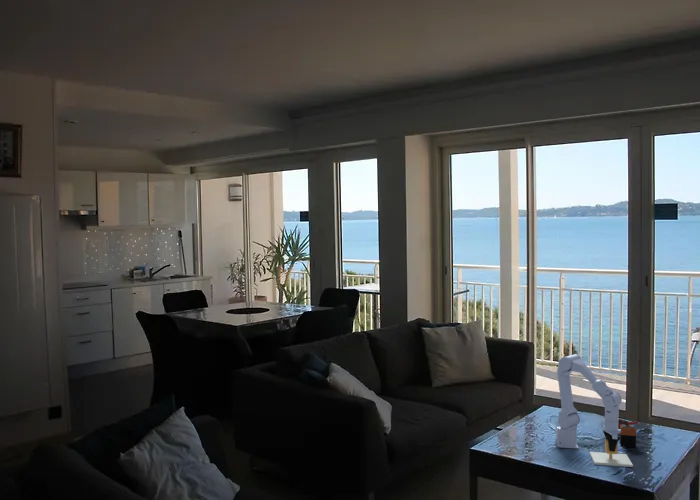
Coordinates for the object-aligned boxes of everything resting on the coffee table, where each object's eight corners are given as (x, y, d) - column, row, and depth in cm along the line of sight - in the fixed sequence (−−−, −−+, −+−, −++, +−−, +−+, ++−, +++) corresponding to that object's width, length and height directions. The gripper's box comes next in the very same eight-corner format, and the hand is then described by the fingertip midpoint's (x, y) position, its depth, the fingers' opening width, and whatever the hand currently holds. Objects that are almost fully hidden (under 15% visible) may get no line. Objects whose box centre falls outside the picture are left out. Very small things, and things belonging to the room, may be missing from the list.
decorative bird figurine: (602, 430, 318) (602, 411, 318) (638, 432, 316) (639, 413, 315) (603, 432, 315) (604, 413, 315) (640, 434, 313) (641, 415, 312)
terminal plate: (594, 464, 277) (594, 454, 277) (589, 453, 289) (589, 444, 289) (632, 467, 274) (633, 457, 274) (626, 456, 286) (626, 446, 286)
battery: (636, 447, 296) (636, 427, 295) (620, 446, 298) (621, 426, 297) (634, 444, 300) (635, 424, 300) (619, 443, 302) (619, 422, 301)
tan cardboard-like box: (606, 453, 280) (607, 442, 279) (604, 449, 284) (605, 439, 284) (617, 454, 279) (617, 443, 279) (614, 450, 283) (615, 439, 283)
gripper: (625, 425, 273) (624, 455, 273) (617, 414, 287) (616, 443, 288) (608, 424, 274) (607, 454, 275) (601, 414, 288) (600, 442, 289)
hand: (610, 449), depth 281 cm, fingers closed on tan cardboard-like box, 4 cm apart
